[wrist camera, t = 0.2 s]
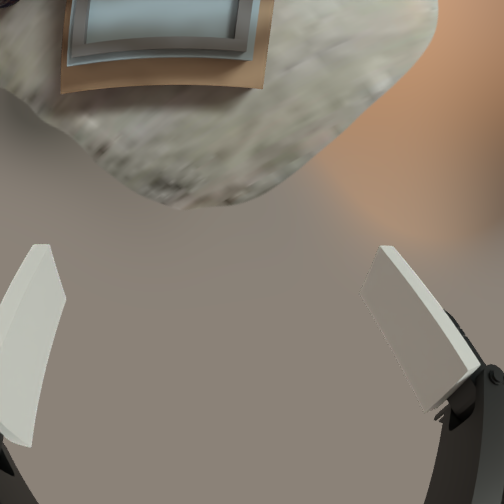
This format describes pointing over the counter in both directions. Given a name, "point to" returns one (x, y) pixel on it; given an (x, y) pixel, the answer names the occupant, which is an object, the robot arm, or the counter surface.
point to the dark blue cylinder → (7, 3)
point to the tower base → (164, 43)
